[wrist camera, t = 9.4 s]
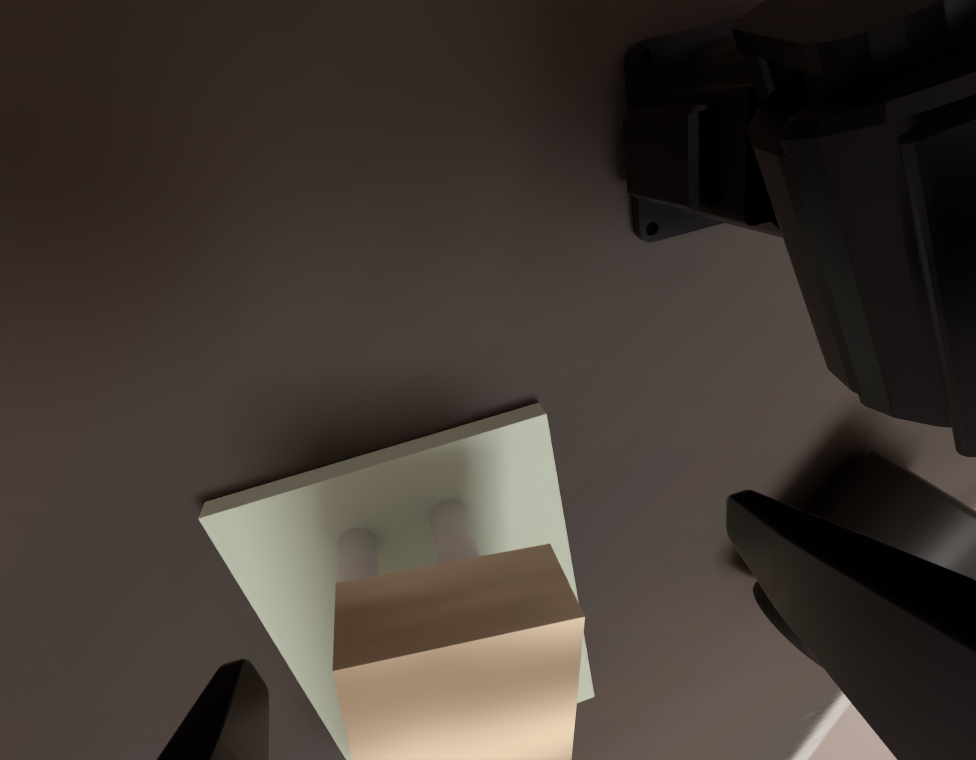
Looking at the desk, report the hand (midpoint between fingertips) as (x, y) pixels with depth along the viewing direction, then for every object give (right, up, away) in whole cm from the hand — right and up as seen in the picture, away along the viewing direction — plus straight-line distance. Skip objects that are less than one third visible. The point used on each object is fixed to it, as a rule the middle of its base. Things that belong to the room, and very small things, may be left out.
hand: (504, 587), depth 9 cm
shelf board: (-1, -10, +11) cm, 15 cm away
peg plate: (-3, -8, +17) cm, 19 cm away
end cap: (+19, -4, +21) cm, 28 cm away
